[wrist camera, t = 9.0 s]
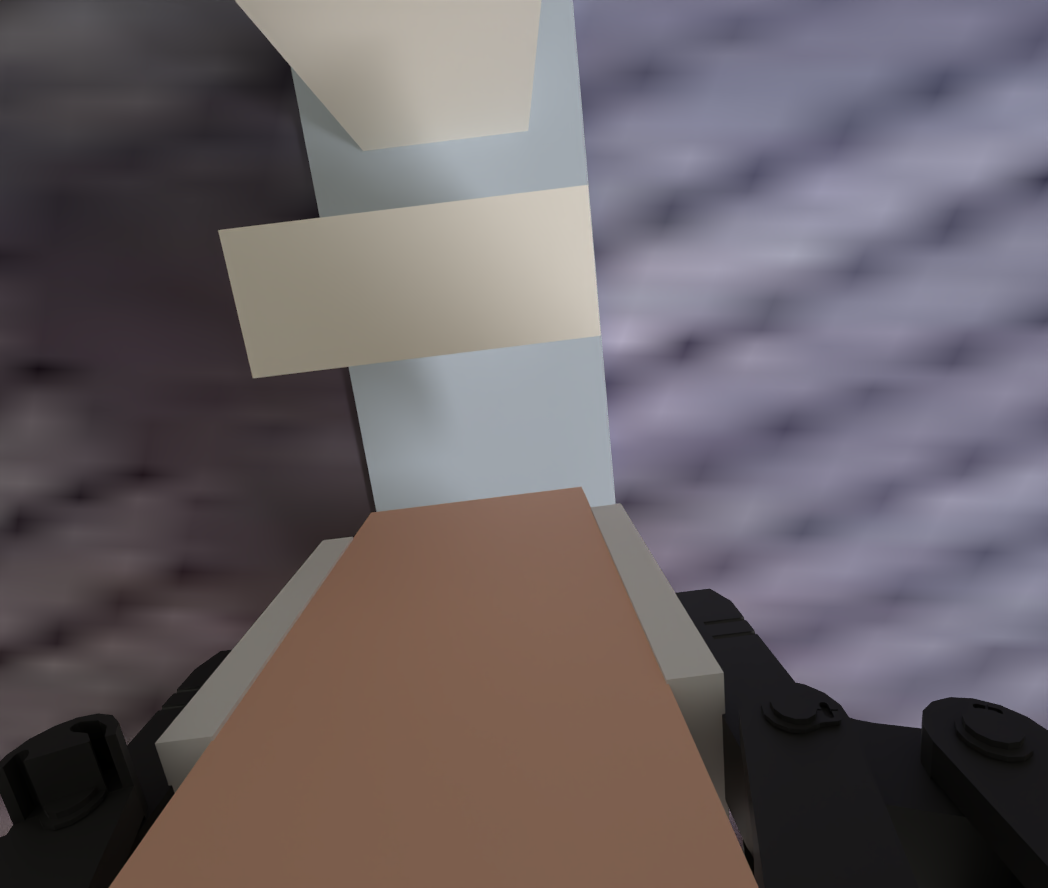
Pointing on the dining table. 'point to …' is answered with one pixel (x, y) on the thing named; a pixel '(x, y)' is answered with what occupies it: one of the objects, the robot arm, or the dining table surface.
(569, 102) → the mat
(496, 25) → the end domino
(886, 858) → the robot arm
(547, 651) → the domino
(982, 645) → the dining table surface
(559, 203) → the domino
